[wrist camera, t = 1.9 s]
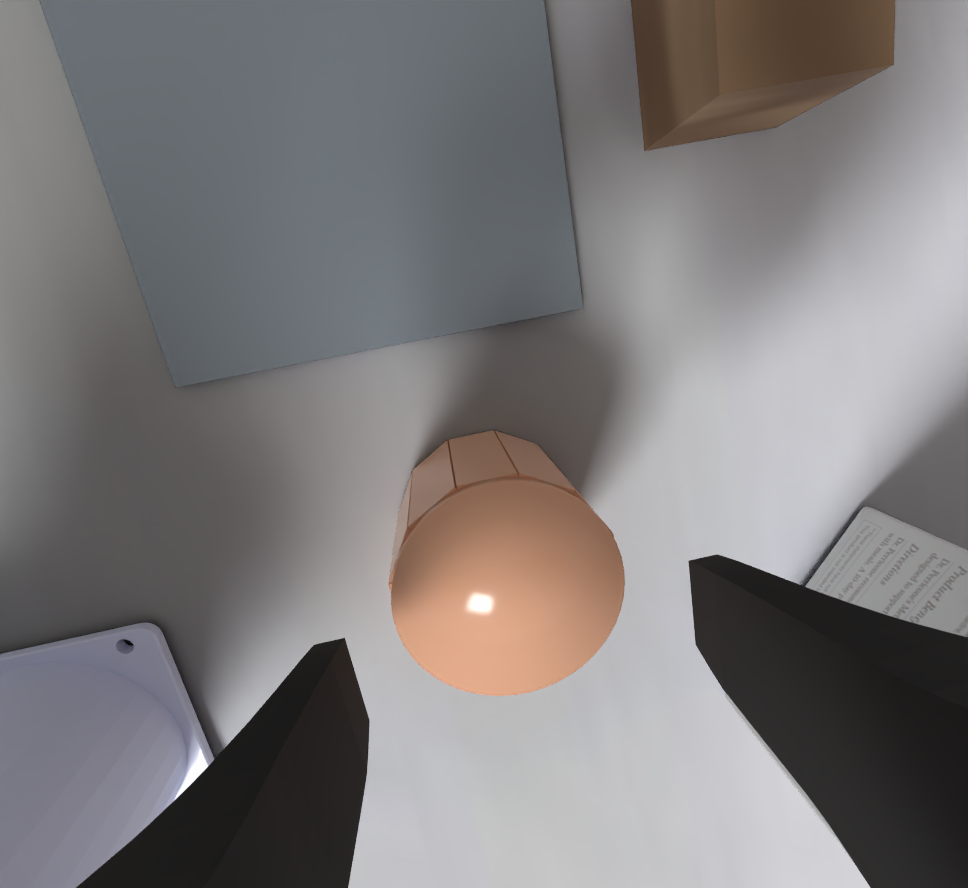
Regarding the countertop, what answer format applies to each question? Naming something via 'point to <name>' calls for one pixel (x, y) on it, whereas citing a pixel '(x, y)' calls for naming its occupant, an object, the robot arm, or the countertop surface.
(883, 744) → the robot arm
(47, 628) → the countertop surface
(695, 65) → the walnut block
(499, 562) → the peach faceted cylinder
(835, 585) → the supplement box
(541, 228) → the slate mat
